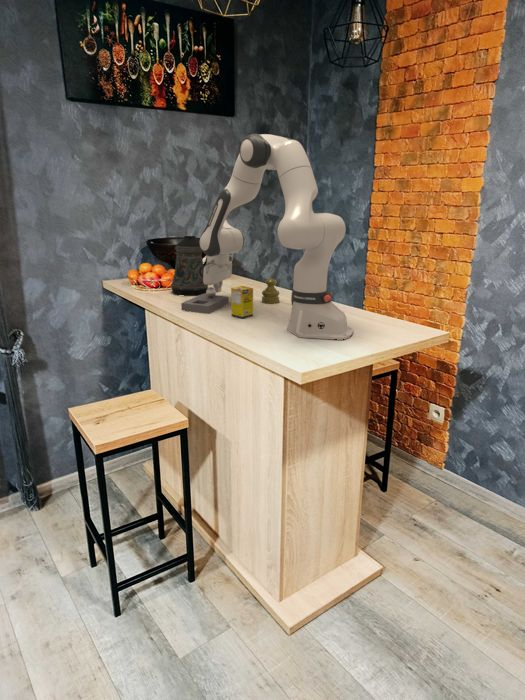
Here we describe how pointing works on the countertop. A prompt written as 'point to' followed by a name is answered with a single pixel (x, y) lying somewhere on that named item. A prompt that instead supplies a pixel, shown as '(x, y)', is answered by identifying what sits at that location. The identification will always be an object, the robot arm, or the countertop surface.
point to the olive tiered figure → (270, 292)
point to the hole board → (205, 303)
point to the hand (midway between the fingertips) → (218, 291)
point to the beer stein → (189, 268)
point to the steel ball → (211, 292)
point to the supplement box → (242, 302)
